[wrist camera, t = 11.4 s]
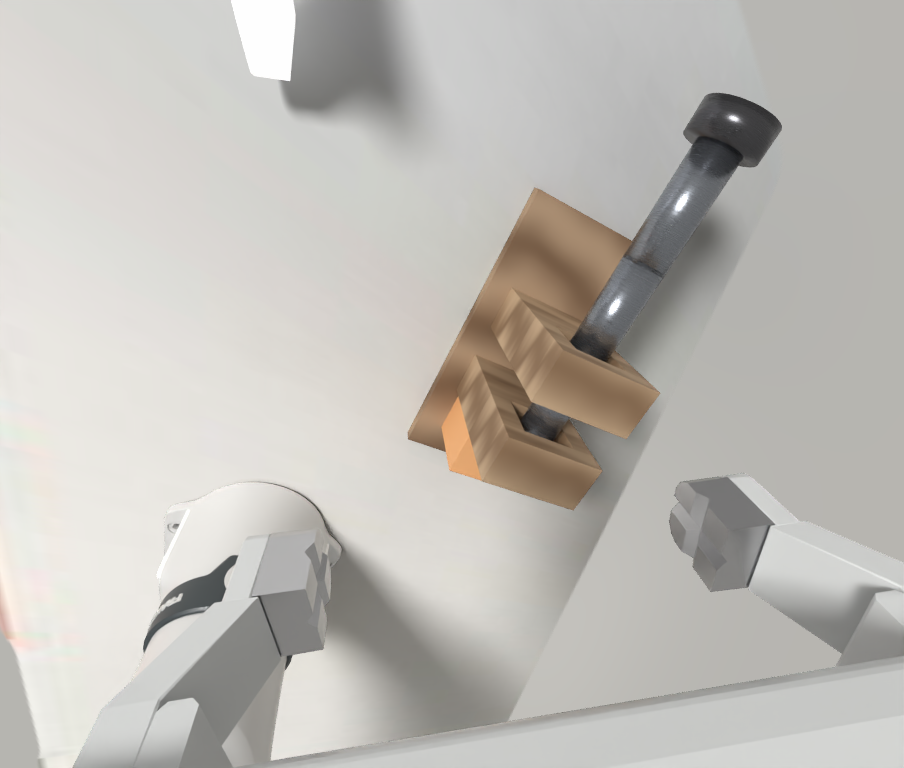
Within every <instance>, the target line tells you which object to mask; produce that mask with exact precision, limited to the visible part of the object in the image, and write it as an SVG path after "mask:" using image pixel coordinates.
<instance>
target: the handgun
mask: <svg viewBox="0 0 904 768" xmlns="http://www.w3.org/2000/svg"><path fill="white" fill-rule="evenodd" d="M231 2H232V6H233V10H234V14H235V18H236V21H237V25H238V29H239V33H240V36H241V40H242V44H243V47H244V51H245V55H246V58H247V62H248V65H249V68H250V72H251V74H253V75H254V76H259V77H266V78H272V79H279V80H285V81H290V77H291V65H292V53H293V42H294V30H295V9H294V3H293V0H231Z"/></svg>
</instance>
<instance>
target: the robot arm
mask: <svg viewBox="0 0 904 768" xmlns="http://www.w3.org/2000/svg"><path fill="white" fill-rule="evenodd" d="M675 497H676V498H677V500H678V501H679V503H678V504H677V505H676V506H675V507H674V508H673V509H672V510H671V514H670V520H669V523H670V528H671V534H672V536H673V538H674V540H675V542H676V544H677V545H678V547H679V548H680V550H681V551H682V552H684V553H686V554H687V555H689V556H691V557H692V558H694V559H693V568H694V570H695V571H696V572H697V574H698V575H699V576H700V578H701V579H702V581H703V582H704V583H705V585H706V586H707V588H708V589H709V590H710V592H713V591H722V590H730V589H739V588H747V587H749V588H748V590H750V591H751V592H753V593H754V594H756V595H757V596H758V597H760V598H761V599H763V600H764V601H766V602H767V603H769V604H770V605H772V606H773V607H774V608H776V609H777V610H779V611H780V612H782V613H783V614H785V615H786V616H788V617H789V618H791V619H792V620H793V621H795V622H796V623H798V624H799V625H801V626H802V627H804V628H805V629H807V630H808V631H810V632H811V633H812V634H814V635H815V636H817V637H818V638H820V639H821V640H823V641H824V642H826V643H827V644H829V645H830V646H832V647H833V648H834V649H836V650H837V651H839V652H840V653H842V655H841V657H840V659H839V661H838V663H837V665H836V666H835V667H832V668H826V669H821V670H814V671H809V672H802V673H796V674H790V675H784V676H778V677H772V678H766V679H760V680H754V681H749V682H742V683H736V684H730V685H724V686H719V687H712V688H706V689H700V690H694V691H688V692H682V693H677V694H670V695H664V696H658V697H653V698H647V699H640V700H634V701H628V702H622V703H617V704H610V705H604V706H598V707H592V708H586V709H580V710H574V711H568V712H562V713H556V714H550V715H545V716H539V717H533V718H526V719H521V720H514V721H508V722H502V723H496V724H490V725H484V726H478V727H472V728H466V729H460V730H454V731H448V732H442V733H436V734H430V735H424V736H418V737H412V738H406V739H400V740H394V741H388V742H382V743H376V744H370V745H364V746H358V747H352V748H346V749H340V750H334V751H328V752H322V753H315V754H309V755H303V756H297V757H291V758H285V759H279V760H273V761H271V752H272V743H273V737H274V731H275V724H276V718H277V712H278V705H279V699H280V693H281V688H282V682H283V676H284V671H285V670H286V668H287V667H288V665H289V664H290V662H291V658H292V655H294V654H300V653H306V652H311V651H317V650H323V649H324V642H325V634H326V627H327V616H326V612H325V608H324V607H325V606H326V605H327V603H328V602H329V601H330V594H331V570H330V569H331V568H332V567H333V566H334V565H335V564H336V562H337V561H338V560H339V558H340V556H341V552H342V548H341V546H340V544H339V543H338V542H337V541H336V540H335V539H334V538H333V537H332V536H331V535H329V533H328V532H327V529H326V527H325V524H324V521H323V519H322V517H321V515H320V513H319V512H318V510H317V509H316V508H315V507H314V506H313V505H312V504H311V503H310V502H309V501H308V500H307V499H305V498H304V497H303V496H301V495H299V494H298V493H296V492H294V491H292V490H289V489H287V488H284V487H281V486H278V485H274V484H268V483H260V482H244V483H236V484H231V485H227V486H224V487H221V488H219V489H216V490H214V491H212V492H210V493H209V494H207V495H205V496H204V497H202V498H200V499H198V500H195V501H188V502H183V503H178V504H174V505H172V506H170V507H169V508H168V510H167V512H166V514H165V517H164V559H163V561H162V563H161V565H160V567H159V570H158V572H157V578H158V579H159V593H160V600H161V605H160V607H159V609H158V610H157V612H156V613H155V615H154V616H153V619H152V621H151V623H150V625H149V626H150V627H149V629H148V633H147V636H146V638H145V641H144V646H143V650H144V655H143V657H142V659H141V661H140V663H139V665H138V667H137V670H136V672H135V674H134V676H133V678H132V680H131V682H130V683H129V684H128V685H127V686H126V687H125V688H124V689H123V690H122V691H120V692H119V693H118V694H117V695H116V696H115V697H114V698H113V699H112V700H111V701H110V702H109V703H108V704H107V705H106V706H105V707H104V708H103V709H102V710H101V712H100V714H99V716H98V718H97V720H96V722H95V724H94V726H93V728H92V730H91V732H90V734H89V736H88V738H87V740H86V742H85V744H84V746H83V748H82V750H81V752H80V754H79V756H78V758H77V760H76V761H75V763H74V765H73V767H72V768H904V563H903V562H901V561H898V560H896V559H894V558H891V557H889V556H886V555H884V554H882V553H880V552H877V551H875V550H873V549H870V548H868V547H866V546H863V545H861V544H859V543H856V542H854V541H852V540H850V539H847V538H845V537H843V536H840V535H838V534H836V533H833V532H831V531H829V530H826V529H824V528H822V527H819V526H817V525H814V524H812V523H810V522H808V521H804V522H800V521H799V520H797V519H796V518H795V517H794V516H793V515H792V514H791V513H790V512H789V511H788V510H787V509H786V508H785V507H783V506H782V505H781V504H780V503H779V502H778V501H777V500H776V499H775V498H774V497H773V496H772V495H770V494H769V493H768V492H767V491H766V490H765V489H764V488H763V487H762V486H761V485H760V484H759V483H758V482H756V481H755V480H754V479H753V478H752V477H751V476H749V475H747V474H745V473H740V474H733V475H726V476H722V477H712V478H705V479H699V480H690V481H683V482H680V483H679V484H678V486H677V487H676V491H675ZM178 524H180V525H178Z"/></svg>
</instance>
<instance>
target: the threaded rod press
mask: <svg viewBox="0 0 904 768" xmlns="http://www.w3.org/2000/svg"><path fill="white" fill-rule="evenodd" d="M631 243H632V241H631V240H629V239H627V238H626V237H624V236H622V235H620V234H618V233H617V232H615V231H613V230H611V229H609V228H608V227H606V226H604V225H602V224H601V223H599V222H597V221H595V220H593V219H592V218H590V217H588V216H586V215H584V214H583V213H581V212H579V211H577V210H576V209H574V208H572V207H570V206H568V205H567V204H565V203H563V202H561V201H559V200H558V199H556V198H554V197H552V196H550V195H549V194H547V193H545V192H543V191H542V190H540V189H537V188H534V190H533V192H532V194H531V196H530V198H529V199H528V201H527V203H526V205H525V207H524V209H523V211H522V213H521V215H520V217H519V219H518V221H517V223H516V225H515V226H514V228H513V230H512V232H511V234H510V236H509V238H508V240H507V242H506V244H505V246H504V248H503V250H502V252H501V254H500V255H499V257H498V259H497V261H496V263H495V265H494V267H493V269H492V271H491V273H490V275H489V277H488V279H487V281H486V282H485V284H484V286H483V288H482V290H481V292H480V294H479V296H478V298H477V300H476V302H475V304H474V306H473V308H472V309H471V311H470V313H469V315H468V317H467V319H466V321H465V323H464V325H463V327H462V329H461V331H460V333H459V335H458V337H457V338H456V340H455V342H454V344H453V346H452V348H451V350H450V352H449V354H448V356H447V358H446V360H445V362H444V364H443V365H442V367H441V369H440V371H439V373H438V375H437V377H436V379H435V381H434V383H433V385H432V387H431V389H430V391H429V392H428V394H427V396H426V398H425V400H424V402H423V404H422V406H421V408H420V410H419V412H418V414H417V416H416V418H415V420H414V421H413V423H412V425H411V427H410V429H409V431H408V439H409V440H412V441H415V442H418V443H421V444H424V445H427V446H430V447H433V448H436V449H439V450H442V451H445V452H446V449H445V444H444V438H443V433H442V428H441V427H442V425H443V423H444V421H445V419H446V418H447V416H448V414H449V412H450V410H451V408H452V407H453V405H454V403H455V401H456V399H457V397H459V401H460V404H461V408H462V411H463V415H464V419H465V422H466V426H467V429H468V433H469V437H470V440H471V444H472V448H473V451H474V455H475V458H476V462H477V466H478V469H479V473H480V476H481V480H482V481H483V482H486V483H489V484H492V485H495V486H499V487H502V488H505V489H508V490H511V491H514V492H517V493H520V494H524V495H527V496H530V497H533V498H536V499H539V500H542V501H546V502H549V503H552V504H555V505H558V506H561V507H564V508H567V509H571V510H574V509H575V507H576V506H577V505H578V503H579V502H580V501H581V499H582V498H583V497H584V495H585V494H586V493H587V491H588V490H589V489H590V487H591V486H592V484H593V483H594V482H595V480H596V479H597V478H598V476H599V475H600V474H601V472H602V469H601V468H600V466H599V465H598V463H597V462H596V460H595V459H594V457H593V455H592V454H591V452H590V451H589V449H588V448H587V446H586V445H585V443H584V441H583V440H582V438H581V437H580V435H579V434H578V432H577V431H576V429H575V428H574V426H573V424H572V423H571V421H570V420H569V419H568V420H567V422H566V423H565V425H564V426H563V428H562V429H561V431H560V432H559V434H558V435H557V437H556V438H555V440H554V441H550V440H548V439H545V438H542V437H539V436H537V435H534V434H531V433H529V432H526V431H524V429H523V427H522V424H521V422H520V420H521V419H522V417H523V416H524V414H525V412H526V411H527V409H528V408H529V406H530V404H531V403H532V402H533V403H536V404H538V405H541V406H543V407H546V408H548V409H551V410H553V411H556V412H558V413H561V414H564V415H566V416H569V417H571V418H574V419H576V420H579V421H581V422H584V423H586V424H589V425H592V426H594V427H597V428H599V429H602V430H604V431H607V432H609V433H612V434H615V435H617V436H620V437H622V438H625V439H627V437H628V436H629V435H630V433H631V432H632V431H633V429H634V428H635V427H636V425H637V424H638V423H639V421H640V420H641V419H642V417H643V416H644V414H645V413H646V412H647V410H648V409H649V408H650V406H651V405H652V404H653V402H654V401H655V400H656V398H657V397H658V396H659V394H660V392H659V391H658V390H656V389H655V388H654V387H653V386H652V385H651V384H650V383H649V382H648V381H647V380H646V379H645V378H644V377H643V376H642V375H640V374H639V373H638V372H637V371H636V370H635V369H634V368H633V367H632V366H631V365H630V364H629V363H628V362H627V361H625V360H624V359H623V358H622V357H621V356H620V355H619V354H618V353H617V352H616V351H615V350H614V352H613V353H612V355H611V356H610V358H609V359H608V361H607V362H604V361H602V360H599V359H597V358H595V357H593V356H591V355H588V354H586V353H584V352H582V351H579V350H577V349H576V348H575V347H574V346H573V345H572V344H571V342H570V340H571V339H572V337H573V336H574V334H575V332H576V331H577V329H578V328H579V326H580V324H581V323H582V321H583V320H584V318H585V316H586V315H587V313H588V311H589V310H590V308H591V307H592V305H593V303H594V302H595V300H596V299H597V297H598V295H599V294H600V292H601V291H602V289H603V287H604V286H605V284H606V283H607V281H608V279H609V278H610V276H611V275H612V273H613V271H614V270H615V268H616V267H617V265H618V263H619V262H620V260H621V259H622V257H623V255H624V254H625V252H626V251H627V249H628V247H629V246H630V244H631Z"/></svg>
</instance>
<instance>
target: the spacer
mask: <svg viewBox="0 0 904 768" xmlns="http://www.w3.org/2000/svg"><path fill="white" fill-rule="evenodd" d="M441 428H442V433H443V438H444V444H445V449H446V454H447V460H448V465H449V470H450V471H453V472H456V473H459V474H463V475H466V476H469V477H472V478H475V479H478V480H481V476H480V473H479V469H478V466H477V462H476V458H475V455H474V451H473V448H472V444H471V440H470V437H469V433H468V429H467V426H466V422H465V419H464V415H463V411H462V408H461V404H460V401H459V397H457V399H456V401H455V403H454V405H453V407H452V408H451V410H450V412H449V414H448V416H447V418H446V419H445V421H444V423H443V425H442V427H441ZM481 481H482V480H481Z"/></svg>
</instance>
